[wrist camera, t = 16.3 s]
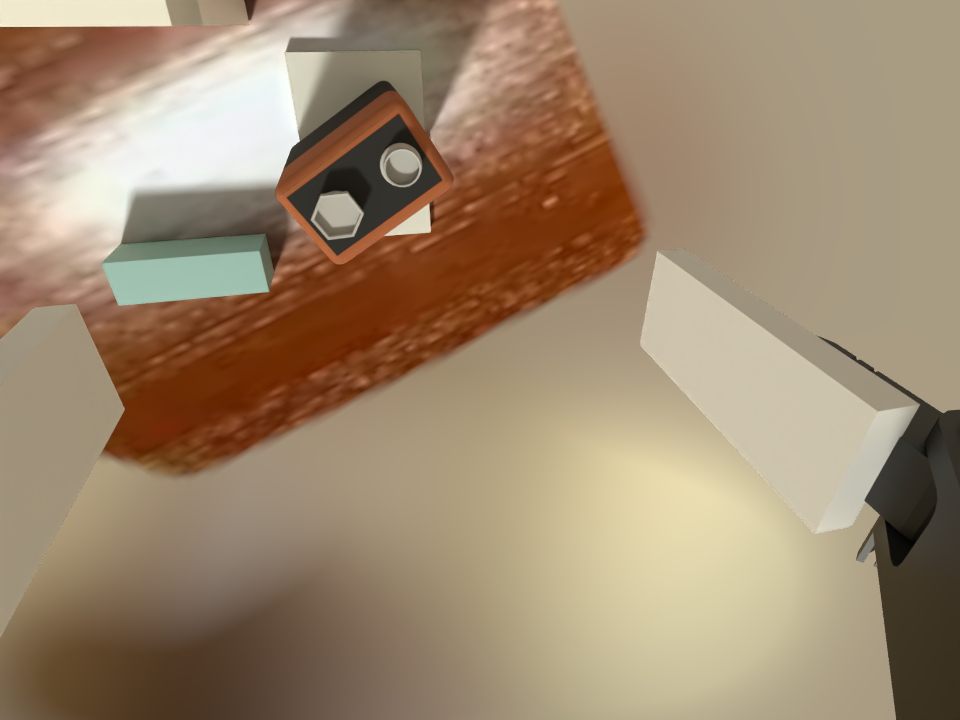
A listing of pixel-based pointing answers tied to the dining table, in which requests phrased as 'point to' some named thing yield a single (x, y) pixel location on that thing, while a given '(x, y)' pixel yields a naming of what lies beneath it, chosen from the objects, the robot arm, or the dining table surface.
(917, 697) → the robot arm
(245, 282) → the block
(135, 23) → the white u-shaped bracket
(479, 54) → the dining table surface
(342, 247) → the battery
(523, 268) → the dining table surface
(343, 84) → the mat
